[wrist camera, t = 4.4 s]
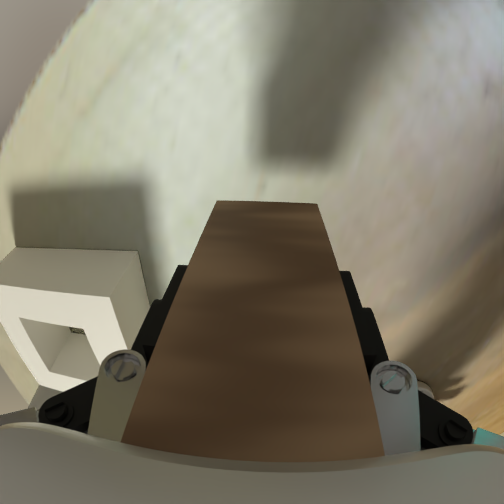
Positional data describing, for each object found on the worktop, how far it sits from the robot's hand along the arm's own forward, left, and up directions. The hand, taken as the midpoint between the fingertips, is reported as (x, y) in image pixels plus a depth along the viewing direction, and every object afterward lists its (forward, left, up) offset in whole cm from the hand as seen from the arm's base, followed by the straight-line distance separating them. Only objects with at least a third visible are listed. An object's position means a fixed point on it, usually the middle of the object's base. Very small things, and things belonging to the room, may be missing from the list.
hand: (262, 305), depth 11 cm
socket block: (+14, +9, -9) cm, 19 cm away
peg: (0, 0, -4) cm, 4 cm away
